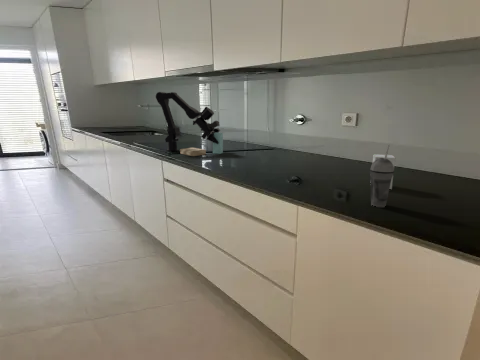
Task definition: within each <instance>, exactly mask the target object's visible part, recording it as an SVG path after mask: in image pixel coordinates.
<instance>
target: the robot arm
mask: <svg viewBox="0 0 480 360" xmlns="http://www.w3.org/2000/svg"><path fill="white" fill-rule="evenodd" d="M155 99H156V101H157V103H158V104H159V105H160V107H161V109H162V113H163V116H164V119H165V121H166V125H167V136H166V137H165V138H164V140H165V143H167V149H166V151H167V152H177V151H179V152H180V149H178V141H179V139H180V138H181V133H182V132H181V130H180V127H179V126H178V127H177V126H176V124H175V122H174V121H175V120H174V118H173V114H172V111H171V108H170V105H169V104H170V103H169V102H170V100H173V101H174V102H175V104H177V105H178V107H180V108H181V109H182V110H183V111H184V112H185V114H186V116H187V117H188V118H189V119H190V120H192V126H195V125H197V126H198V128H199V129H200V131H201V132H203V133H202V135H201V138H202V139H203V140H207V141H210V142H211V143H213V142H214V143H216V144H218V143H219V142H218V141H217V139H216V138H215V137H214V133H220V131H221V129H219V128H218V127H219V126H221V125H220V122H219V121H218V120H214V121H213V122H211V123H210V122H207V121H209V120H210V119H211V118H212V117H213V116H214V115H215V112H214V110H213V109H211V108H210V107H208V106H204V108H203V110H202V111H198V110H197V109H196V108H195V107H192V106H190V105H189V104H188V103H187V102H186V101H185V100H184V99H183V98H182V97H180V95H179V94H178V93H177V92H173V91H172V92H165V91H158V92H157V93H156V95H155ZM194 119H195V120H194Z"/></svg>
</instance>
